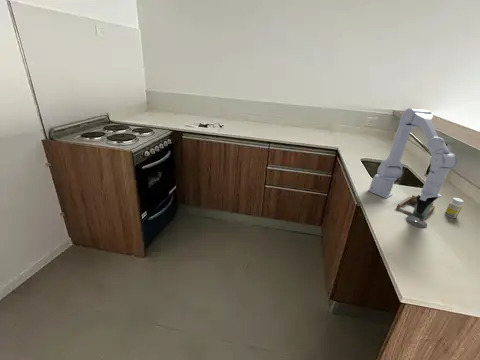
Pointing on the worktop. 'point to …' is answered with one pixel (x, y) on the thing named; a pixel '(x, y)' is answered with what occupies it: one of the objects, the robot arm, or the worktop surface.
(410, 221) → the coaster
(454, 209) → the supplement bottle
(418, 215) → the tin can
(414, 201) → the frame
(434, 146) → the robot arm
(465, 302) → the worktop surface
